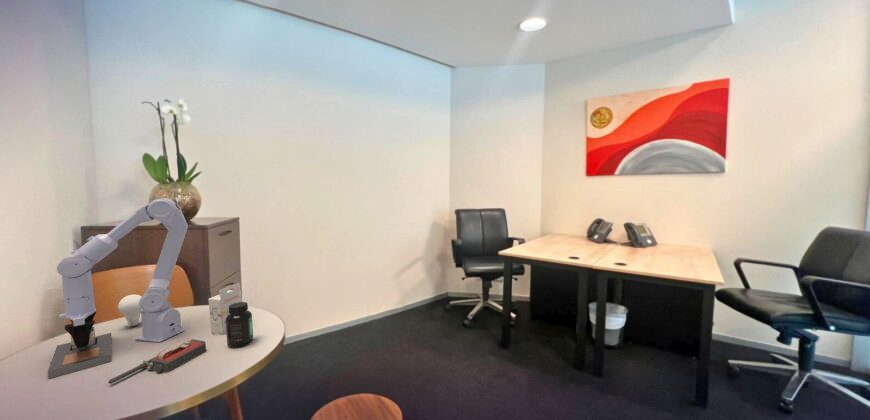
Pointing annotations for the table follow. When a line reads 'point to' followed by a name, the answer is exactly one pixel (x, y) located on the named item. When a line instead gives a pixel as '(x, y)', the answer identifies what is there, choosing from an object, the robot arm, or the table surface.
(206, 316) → the table surface
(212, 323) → the ink cartridge box
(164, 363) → the walkie-talkie
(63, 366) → the hole plate
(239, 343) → the supplement bottle
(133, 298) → the light bulb
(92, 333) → the square peg
